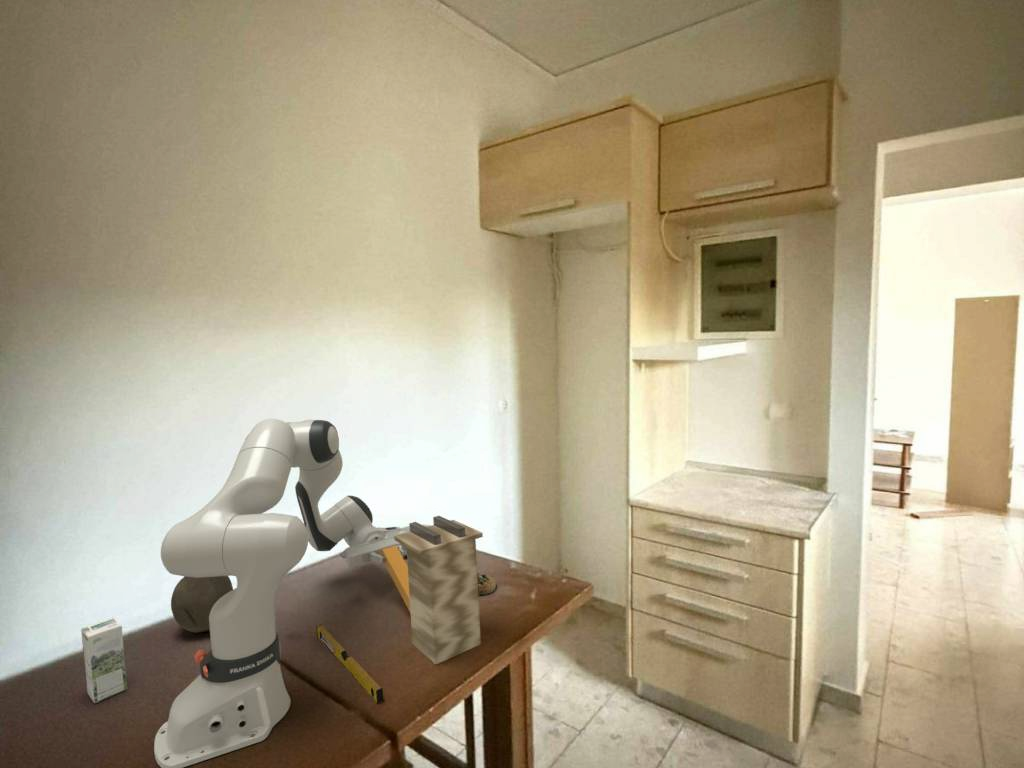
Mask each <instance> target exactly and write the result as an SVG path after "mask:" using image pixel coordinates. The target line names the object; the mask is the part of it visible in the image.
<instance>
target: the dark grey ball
mask: <svg viewBox="0 0 1024 768" xmlns="http://www.w3.org/2000/svg"><path fill="white" fill-rule="evenodd" d="M232 590H234V587H233V583H232V580H231V579H230V576H217V577H203V578H194V577H186V576H182V578H181V579H180V580H179V581H178V582H177V584H176V585H175V587H174V589H173V592H172V595H171V599H170V609H171V613H172V616H173V618H174V620H175V622H176V623H177V624H178V626H179V627H181V628H182V629H184V630H186V631H189V632H191V633H195V634H196V633H206V632H210V627H209V615H210V612H211V609H212V607H213V606H214V604H215V603H216V602H217V601H218V600H219V599H220V598H221V597H222V596H224V595H225V594H227V593H228V592H230V591H232Z"/></svg>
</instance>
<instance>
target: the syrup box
mask: <svg viewBox="0 0 1024 768" xmlns="http://www.w3.org/2000/svg"><path fill="white" fill-rule="evenodd" d="M80 632H81V642H82V651H83V653H82V654H83V662H84V673H85V683H86V684H85V685H86V692H87V695H88V696H89V698H90V699H91V701H92V702H93V704H97V703H100V702H102V701H104V700H107V699H109V698H111V697H113V696H116V695H117V694H120V693H122V692H124V691H127V690H128V683H127V672H126V671H127V670H126V663H125V662H126V661H125V649H124V636H123V626H122V625H121V624H120V623H119V622H118V620H117V619H116V618H115V617H111V618H108V619H105V620H103V621H100V622H96V623H94V624H90V625H88V626H85V627H82V628H80Z"/></svg>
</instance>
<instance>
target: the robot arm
mask: <svg viewBox="0 0 1024 768" xmlns="http://www.w3.org/2000/svg"><path fill="white" fill-rule="evenodd" d="M338 433H339V432H338V430H337V427H336V426H335V425H334V424H333V423H331V422H330V421H329V420H324V419H305V420H302V421H292V422H291V421H289V422H286V421H283V420H281V419H278V418H268V419H264V420H261V421H259V422H258V423H256V425H254V427H253V428H252V429H251V431H249V433H248V435H247V436H246V437H245V439H244V441H243V443H242V446H240V447H241V448H240V450H239V452H238V454H237V457H236V459H235V461H234V464H233V467H232V469H231V471H230V473H229V476H228V477H227V479H226V481H225V483H224V484H223V486H222V488H221V489H220V491H218V493H217V494H216V495H215V496H214V497H213V498H212V499H211V500H210V501H209V502H207V504H206V505H204V506H203V507H202V508H201V509H200V510H198V511H197V512H195V513H194V514H193V515H190V516H189V517H187V518H185V519H184V520H182V521H180V522H177V523H176V524H174V525H173V526H172V527H170V529H169V530H168V531H167V533H166V534H165V536H164V538H163V540H162V542H161V546H160V559H161V562H162V565H163V567H164V569H165V570H166V571H167V572H168V573H169V574H171V575H173V576H174V575H175V576H179V577H180V576H181V577H184V576H186V577H194V578H203V577H217V576H228V577H231V576H232V577H235V578H236V588H233V590H232V591H230V592H228V593H227V594H225V595H224V596H222V597H221V598H220V599H219V600H218V601H217V602H216V603H215V604H214V606H213V607H212V609H211V612H210V615H209V627H210V631H209V635H210V636H209V637H210V648H211V649H210V650H209V651H208V652H207V651H206V650H205V649H200V650H197V651H196V652H195V654H194V660H195V661H194V662H195V663H196V665H199V673H200V674H199V675H198V676H196V677H195V679H194V680H193V681H192V682H191V683H190V684H188V686H187V687H186V688H185V689H183V690H182V691H181V692H180V693H179V694H178V695H177V696H176V697H175V699H174V701H173V702H172V703H171V706H170V710H169V714H168V715H169V716H168V719H167V721H165V722H164V723H163V724H162V725H161V726H160V728H159V729H158V731H157V732H156V734H155V737H154V742H153V743H154V745H153V753H154V758H155V761H156V763H157V765H158V766H159V767H160V768H185V767H188V766H191V765H195V764H198V763H201V762H203V761H206V760H207V761H208V760H210V759H212V758H215V757H218V756H221V755H224V754H227V753H231V752H233V751H236V750H239V749H243V748H245V747H248V746H251V745H253V744H257V743H261V742H263V741H264V740H265V739H266V738H268V736H269V735H270V733H271V731H272V730H273V728H274V727H275V725H276V724H277V723H279V722H280V721H281V720H282V719H283V718H284V717H285V715H286V714H287V712H288V711H289V709H290V706H291V697H290V695H289V693H288V690H287V689H286V686H285V683H284V677H283V674H282V669H281V657H282V653H281V652H282V651H281V642H280V641H281V640H280V638H279V637H280V636H279V634H278V633H277V631H276V628H277V627H276V600H277V599H276V598H277V597H276V596H277V593H278V590H279V587H280V585H281V583H282V581H283V580H284V579H285V577H286V576H287V574H288V573H289V572H290V571H291V570H293V568H295V567H296V566H297V565H298V564H299V563H300V562H301V561H302V559H303V558H304V556H305V554H306V552H307V550H308V545H310V546H311V547H312V548H313V549H314V550H315V551H317V552H330V551H331V550H332V549H334V547H336V546H337V545H338V544H339V542H341V541H342V540H344V542H345V543H346V544H347V545H348V547H346V548H345V549H344V550H343V551H341V552H340V553H339V556H340V558H342V559H345V560H344V561H345V563H346V565H347V566H348V567H349V568H358V567H361V566H364V565H367V564H371V563H379V564H380V565H381V564H384V562H386V560H385V559H386V557H385V556H384V555H381V554H382V550H383V549H386V548H389V547H393V546H397V548H398V550H399V552H400V553H401V555H402V557H403V558H404V557H405V555H404V553H405V552H407V547H405V546H404V545H402V544H400V543H399V542H397V541H395V540H394V536H395V535H399V534H403V533H406V532H407V531H402V530H401V529H400V528H401V527H400V526H389V527H379V526H378V527H376V526H374V525H373V523H374V522H373V521H374V518H373V513H372V511H371V509H370V507H369V506H368V505H367V503H366V502H364V501H363V500H362V498H360V497H358V496H355V495H345V496H344V497H343V498H342V499H340V500H339V501H337V503H335V504H334V505H333V506H331V507H329V509H327V510H326V511H324V512H323V513H322V514H321V513H320V509H319V502H320V500H321V499H322V497H323V496H324V494H325V493H326V492H327V490H328V489H329V488H330V487H331V486H332V485H333V484H334V483H335V481H336V480H337V479H338V478H339V476H340V474H341V472H342V469H343V464H344V463H343V458H342V454H341V452H340V438H339V434H338ZM292 468H294V469H295V468H296V469H297V468H299V470H298V471H299V475H298V481H297V482H296V484H295V488H294V490H295V495H296V500H297V504H298V507H299V511H300V514H301V516H302V517H301V518H302V519H300V517H299V516H297V515H291V514H286V513H285V514H284V513H277V512H269V513H267V512H268V511H269V510H271V509H273V508H274V507H276V506H277V505H278V503H280V502H281V500H282V498H283V497H284V494H285V490H286V487H287V484H288V480H289V477H290V473H291V469H292Z"/></svg>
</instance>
